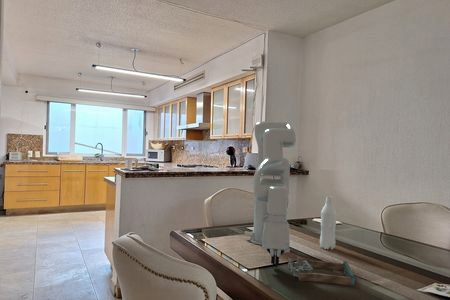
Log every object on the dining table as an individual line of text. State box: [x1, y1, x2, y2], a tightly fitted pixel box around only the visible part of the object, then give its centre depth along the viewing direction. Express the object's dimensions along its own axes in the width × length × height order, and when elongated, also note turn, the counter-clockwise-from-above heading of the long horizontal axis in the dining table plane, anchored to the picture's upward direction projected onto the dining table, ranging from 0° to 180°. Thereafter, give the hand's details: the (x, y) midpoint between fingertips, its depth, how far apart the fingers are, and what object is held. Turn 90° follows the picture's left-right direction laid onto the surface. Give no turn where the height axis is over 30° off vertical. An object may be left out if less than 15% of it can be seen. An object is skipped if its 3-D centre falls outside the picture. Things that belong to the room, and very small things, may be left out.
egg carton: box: [287, 257, 314, 278], centre depth 115 cm, size 11×8×4 cm
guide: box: [296, 256, 356, 287], centre depth 113 cm, size 19×17×4 cm
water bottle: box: [319, 195, 338, 250], centre depth 146 cm, size 7×7×25 cm
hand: (274, 265), depth 117 cm, fingers closed
